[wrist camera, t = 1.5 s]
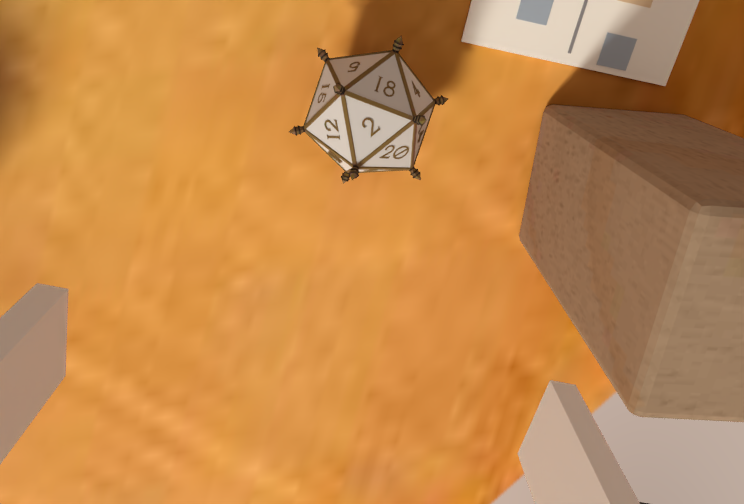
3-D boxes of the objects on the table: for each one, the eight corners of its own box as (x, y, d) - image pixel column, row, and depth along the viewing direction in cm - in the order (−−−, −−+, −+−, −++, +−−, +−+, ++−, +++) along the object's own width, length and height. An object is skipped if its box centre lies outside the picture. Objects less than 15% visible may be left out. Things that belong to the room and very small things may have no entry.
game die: (391, 78, 42) (500, 80, 35) (353, 191, 43) (453, 217, 35) (290, 17, 36) (395, 3, 29) (246, 148, 37) (338, 168, 29)
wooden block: (542, 102, 40) (700, 202, 21) (687, 113, 40) (961, 220, 22) (516, 239, 44) (629, 421, 25) (647, 248, 44) (851, 432, 26)
